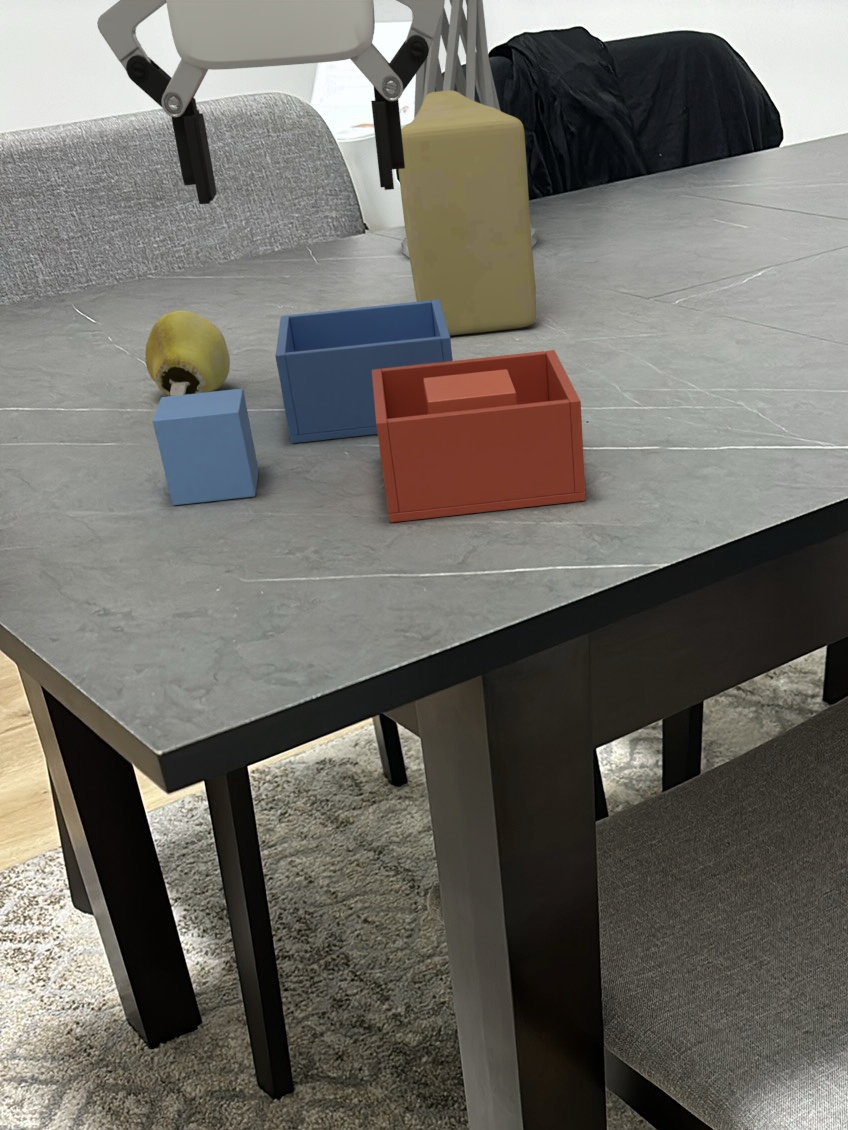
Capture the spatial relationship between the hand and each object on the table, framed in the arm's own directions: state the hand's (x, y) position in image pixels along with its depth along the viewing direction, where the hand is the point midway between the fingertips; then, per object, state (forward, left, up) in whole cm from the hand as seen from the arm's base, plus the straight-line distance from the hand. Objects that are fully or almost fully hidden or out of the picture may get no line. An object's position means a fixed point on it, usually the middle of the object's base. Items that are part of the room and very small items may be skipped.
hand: (298, 192), depth 75 cm
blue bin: (+2, +15, -16) cm, 22 cm away
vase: (+13, +69, -16) cm, 72 cm away
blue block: (-8, +2, -16) cm, 18 cm away
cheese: (+11, +44, -16) cm, 48 cm away
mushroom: (-11, +23, -16) cm, 30 cm away
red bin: (+8, -2, -16) cm, 18 cm away
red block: (+8, -2, -15) cm, 17 cm away
